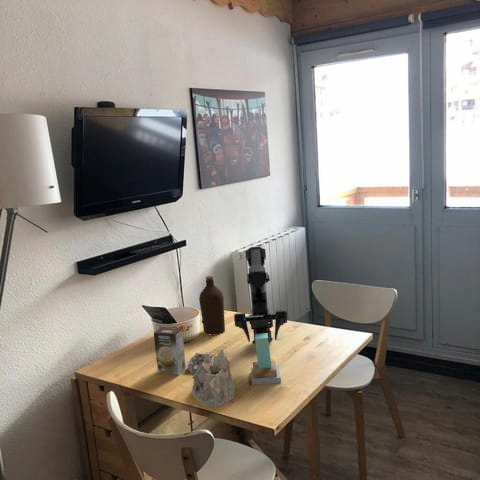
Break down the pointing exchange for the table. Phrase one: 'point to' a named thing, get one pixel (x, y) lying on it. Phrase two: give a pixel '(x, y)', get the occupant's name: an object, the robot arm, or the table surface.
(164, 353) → the coffee box
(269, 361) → the teal block
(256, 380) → the slate slab
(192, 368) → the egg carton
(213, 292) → the olive oil
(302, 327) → the table surface
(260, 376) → the walnut slab
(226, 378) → the grey jagged round piece
